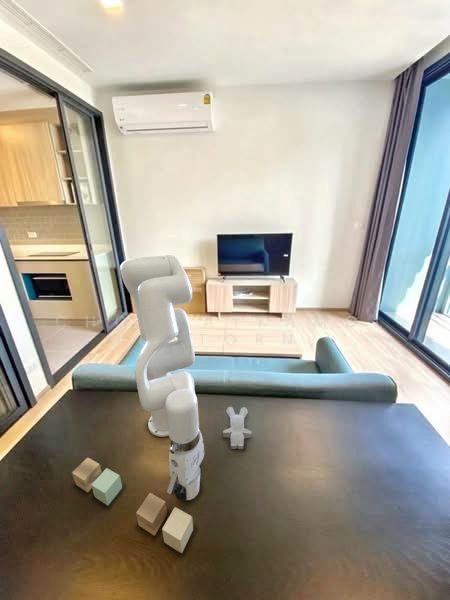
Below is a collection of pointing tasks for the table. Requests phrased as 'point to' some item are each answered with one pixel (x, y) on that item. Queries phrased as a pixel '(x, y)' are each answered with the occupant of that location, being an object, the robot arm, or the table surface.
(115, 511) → the table surface
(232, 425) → the bunny figurine
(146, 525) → the block
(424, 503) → the table surface
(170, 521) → the block
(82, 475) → the block
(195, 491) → the white cylinder
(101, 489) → the block
